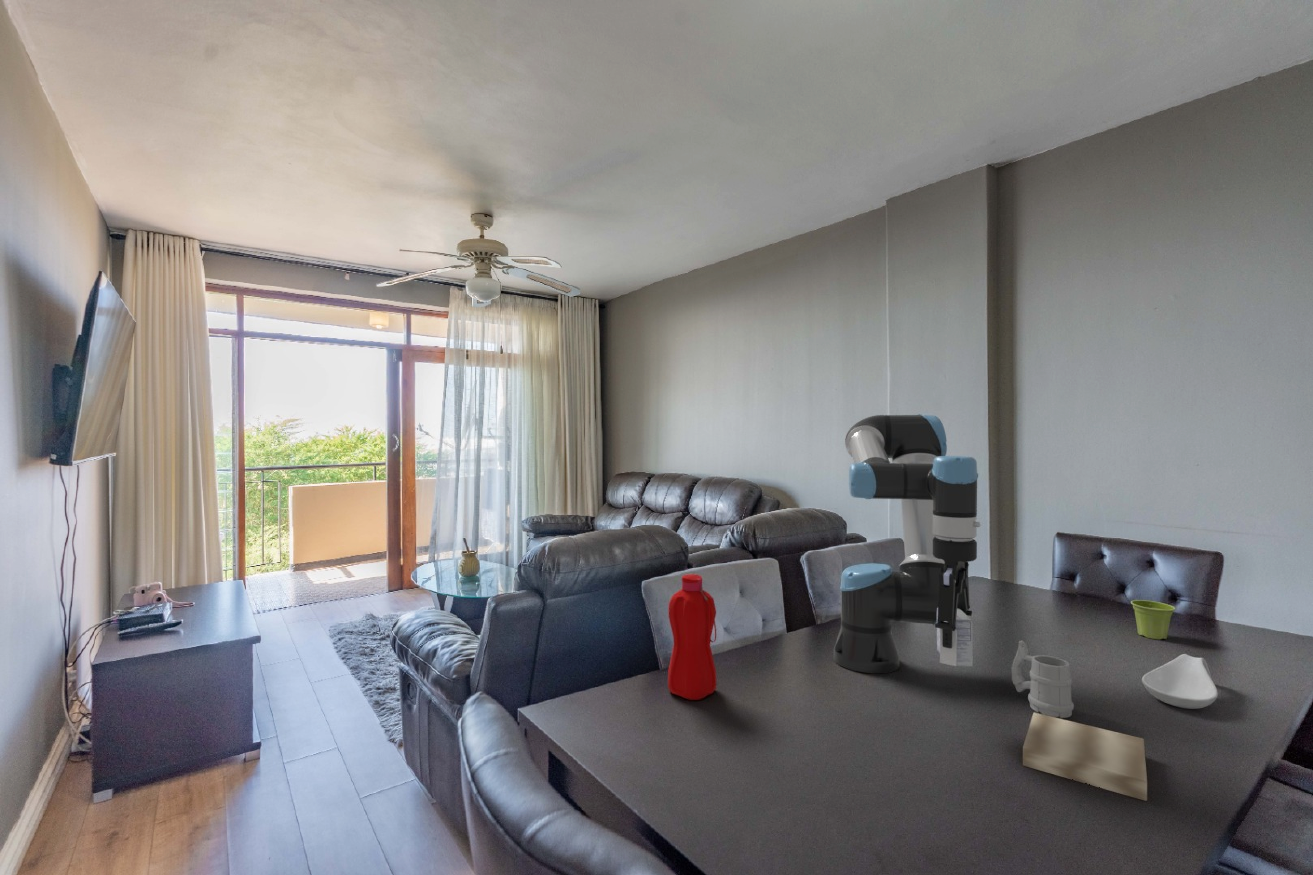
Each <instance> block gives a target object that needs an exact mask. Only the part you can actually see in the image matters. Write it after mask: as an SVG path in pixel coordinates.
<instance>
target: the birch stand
mask: <svg viewBox="0 0 1313 875" xmlns="http://www.w3.org/2000/svg"><path fill="white" fill-rule="evenodd" d="M1032 713H1033V714H1032V716H1031V719H1030V722H1029V725H1028V730H1027V733H1026V736H1025V740H1024V742H1023V745H1022V766H1023V767H1027V768H1030V769H1033V770H1037V771H1041V772H1045V773H1048V774H1052V775H1053V776H1054V775H1055V776H1058V777H1062V778H1066V779H1067V780H1072V779H1073V780H1072V781H1076V782H1079V783H1082V784H1085V783H1087V784H1086V785H1089V784H1090V785H1089V786H1093V787H1095V788H1099V787H1100V789H1103V790H1107V791H1110V792H1114V793H1117V794H1121V795H1124V796H1127V797H1131V798H1134V799H1137V800H1141V801H1144V802H1145V801H1146V802H1148V776H1147V766H1146V765H1147V764H1146V754H1145V753H1146V751H1145V739H1144V738H1142V737H1139V736H1138V737H1137V736H1133V735H1129V734H1125V733H1122V732H1116V731H1113V730H1108V729H1104V728H1099V727H1096V726H1092V725H1087V724H1083V723H1079V722H1076V721H1071V720H1067V719H1064V718H1060V717H1051V716H1047V715H1044V714H1042V713H1039V712H1032Z"/></svg>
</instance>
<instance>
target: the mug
mask: <svg viewBox="0 0 1313 875" xmlns="http://www.w3.org/2000/svg"><path fill="white" fill-rule="evenodd" d="M1026 662H1031V669H1030V670H1029V677H1030V680H1026V679H1025V678H1024V677H1025V676H1024V675H1023V674H1022V670H1023V668H1022V666H1023V665H1024V664H1025V663H1026ZM1011 681H1012V683H1013V684H1012V685H1014V687H1015V689H1016V691H1017V692H1018V693H1022V692H1024V691H1025V690H1030V692H1029V693H1028V696H1027V700H1028V701H1029V707H1030V708H1031V709H1032V710H1033V711H1034V712H1035V713H1039V714H1042V715H1047V716H1051V717H1055V718H1059V719H1066V718H1070V717H1071V716H1072V715H1073V710H1074V708H1075V704H1074V702H1073V701H1072V688H1071V687H1072V686H1071V685H1072V684H1073V679H1072V676H1071V665H1070V663H1069V662H1068V661H1067V660H1065V659H1062V658H1060V657H1056V656H1052V655H1046V654H1045V655H1042V654H1037V655H1030V654H1029V647H1028V645H1027V644H1026V643H1025V642H1024V640H1022V639H1021V640H1019V641H1018V648H1017V651H1016V654H1015V656H1014V658H1013V661H1012V665H1011Z"/></svg>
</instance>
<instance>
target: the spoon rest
mask: <svg viewBox="0 0 1313 875" xmlns="http://www.w3.org/2000/svg"><path fill="white" fill-rule="evenodd" d="M1141 683H1142V684H1143V686H1144V688H1145V689H1146V690H1147V692H1148V693H1149V694H1151V696H1153V697H1154V698H1156V699H1157V700H1159V701H1161V702H1162V703H1166V704H1167V705H1170V706H1173V707H1176V708H1180V709H1187V710H1196V709H1203V708H1206V707H1209V706H1210V705H1212V704H1214V702H1215V701H1216V700H1217V698H1218V695H1219V694H1218V689H1217V687H1216V685H1215V682H1214V681H1213V679H1212V675H1211V671H1210V669H1209V665H1208V663H1207V661H1206V660H1205V658H1204V657H1194V656H1191V655H1189V654H1187V653H1183V654H1180V655H1178V656H1177V657H1175V658H1173V659H1172V660H1170V661H1168V662H1166V663H1165V664H1162V665H1161V666H1159V667H1157V668H1154V669H1152V670H1150V671H1149V672H1147V673H1145V674H1144V675H1143V676H1142V678H1141Z"/></svg>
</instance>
